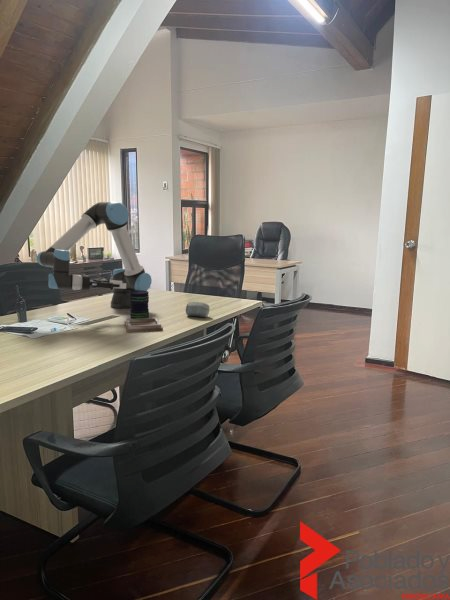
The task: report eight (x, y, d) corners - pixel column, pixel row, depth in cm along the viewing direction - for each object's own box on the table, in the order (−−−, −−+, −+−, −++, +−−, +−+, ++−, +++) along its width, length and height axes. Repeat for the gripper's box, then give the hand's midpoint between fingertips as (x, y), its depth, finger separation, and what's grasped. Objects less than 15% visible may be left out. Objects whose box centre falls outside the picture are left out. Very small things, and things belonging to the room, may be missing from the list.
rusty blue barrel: (150, 320, 226) (150, 293, 223) (132, 322, 222) (131, 293, 220) (146, 316, 235) (146, 289, 232) (128, 317, 231) (128, 290, 229)
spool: (180, 311, 236) (188, 295, 237) (186, 315, 244) (194, 300, 246) (201, 320, 230) (208, 303, 232) (206, 324, 239) (214, 308, 241)
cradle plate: (124, 323, 218) (124, 318, 218) (157, 322, 223) (157, 317, 223) (127, 332, 202) (126, 326, 202) (162, 330, 207) (162, 325, 207)
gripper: (79, 287, 228) (120, 289, 235) (82, 292, 205) (127, 294, 212) (80, 273, 227) (121, 275, 235) (83, 277, 204) (128, 279, 212)
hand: (124, 284), depth 224 cm, fingers open, 13 cm apart
